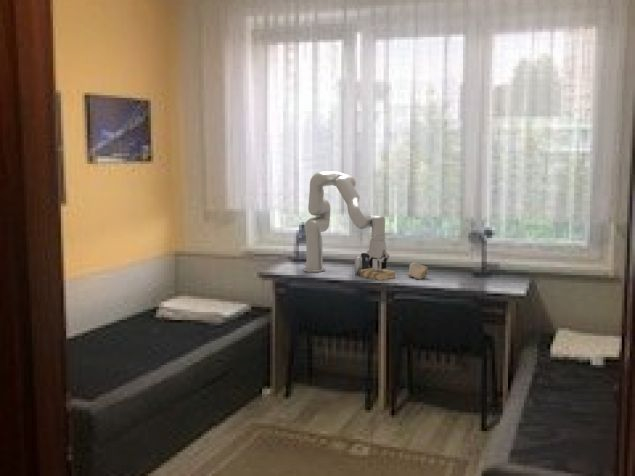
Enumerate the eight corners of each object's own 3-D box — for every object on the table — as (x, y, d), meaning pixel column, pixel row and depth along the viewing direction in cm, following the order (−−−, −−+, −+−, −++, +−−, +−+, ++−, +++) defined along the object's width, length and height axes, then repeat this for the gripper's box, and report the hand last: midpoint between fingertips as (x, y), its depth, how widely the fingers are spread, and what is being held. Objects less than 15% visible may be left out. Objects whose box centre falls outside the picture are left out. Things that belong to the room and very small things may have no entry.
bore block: (360, 275, 391) (360, 269, 391) (375, 273, 399) (376, 267, 398) (379, 280, 379) (379, 273, 378) (395, 277, 386) (395, 271, 386)
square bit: (372, 276, 389) (372, 259, 388) (377, 275, 391) (377, 258, 390) (377, 277, 386) (377, 260, 385) (382, 276, 388) (382, 259, 387)
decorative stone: (412, 275, 394) (412, 260, 393) (430, 279, 383) (430, 264, 381) (401, 276, 390) (402, 262, 389) (419, 280, 378) (419, 266, 377)
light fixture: (385, 270, 412) (386, 252, 411) (376, 272, 401) (377, 254, 400) (369, 269, 417) (369, 251, 416) (359, 271, 406) (360, 253, 405)
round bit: (353, 274, 397) (353, 256, 396) (359, 273, 400) (359, 256, 399) (358, 274, 394) (358, 257, 393) (363, 274, 397) (363, 257, 395)
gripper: (362, 236, 390) (362, 266, 392) (383, 239, 377) (383, 270, 379) (372, 235, 395) (372, 264, 397) (393, 238, 381) (393, 268, 383)
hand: (377, 267), depth 388 cm, fingers open, 9 cm apart
